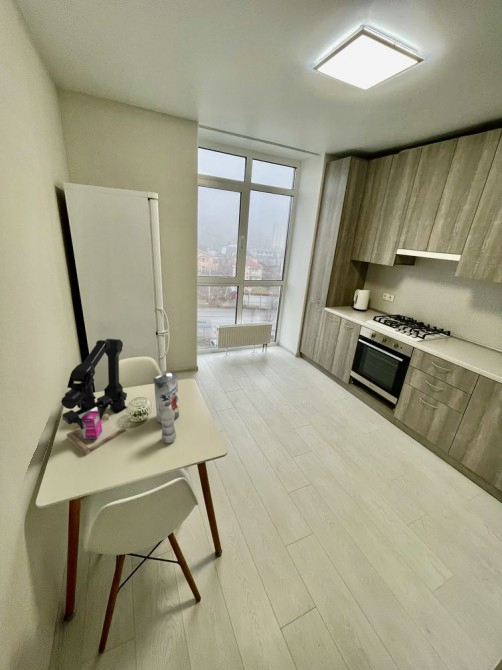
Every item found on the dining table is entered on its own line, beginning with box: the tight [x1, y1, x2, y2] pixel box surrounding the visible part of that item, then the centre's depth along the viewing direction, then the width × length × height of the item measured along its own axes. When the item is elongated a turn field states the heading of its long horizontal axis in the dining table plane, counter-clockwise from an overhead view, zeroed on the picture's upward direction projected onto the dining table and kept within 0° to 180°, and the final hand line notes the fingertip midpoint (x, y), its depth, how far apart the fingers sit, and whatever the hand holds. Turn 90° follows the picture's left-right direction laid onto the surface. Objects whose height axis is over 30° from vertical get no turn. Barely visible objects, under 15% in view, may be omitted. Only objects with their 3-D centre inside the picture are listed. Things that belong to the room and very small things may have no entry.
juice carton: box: [153, 370, 180, 424], centre depth 132 cm, size 9×10×27 cm
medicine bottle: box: [76, 407, 98, 419], centre depth 130 cm, size 7×7×12 cm
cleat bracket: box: [66, 413, 126, 456], centre depth 123 cm, size 18×16×3 cm
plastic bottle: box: [160, 402, 177, 444], centre depth 120 cm, size 6×7×20 cm
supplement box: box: [81, 411, 103, 440], centre depth 120 cm, size 6×6×12 cm
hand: (91, 424), depth 119 cm, fingers closed on supplement box, 8 cm apart
